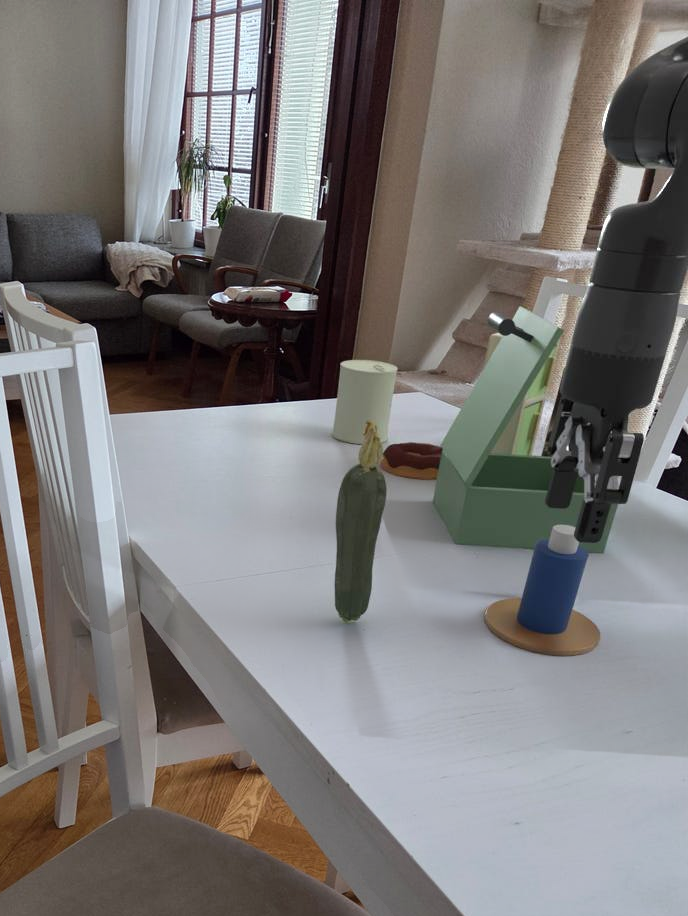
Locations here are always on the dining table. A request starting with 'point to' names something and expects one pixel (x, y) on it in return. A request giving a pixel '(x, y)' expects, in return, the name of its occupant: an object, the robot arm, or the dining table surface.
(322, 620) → the dining table surface
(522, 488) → the green box
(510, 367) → the lid
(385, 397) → the can
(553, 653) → the coaster
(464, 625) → the dining table surface
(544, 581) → the bottle
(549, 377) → the toy refrigerator
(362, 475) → the vegetable
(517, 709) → the dining table surface
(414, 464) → the donut
